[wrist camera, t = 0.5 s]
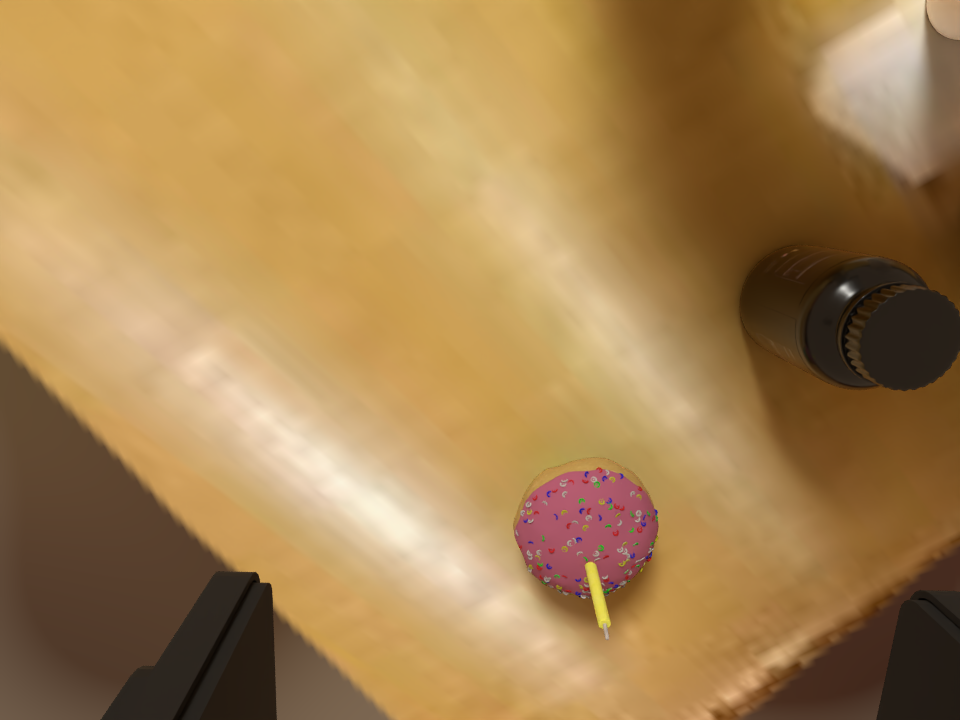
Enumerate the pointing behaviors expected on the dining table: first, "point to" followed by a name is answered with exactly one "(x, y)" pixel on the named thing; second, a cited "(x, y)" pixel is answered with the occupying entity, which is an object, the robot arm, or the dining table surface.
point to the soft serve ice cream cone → (945, 17)
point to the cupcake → (586, 529)
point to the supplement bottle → (850, 318)
